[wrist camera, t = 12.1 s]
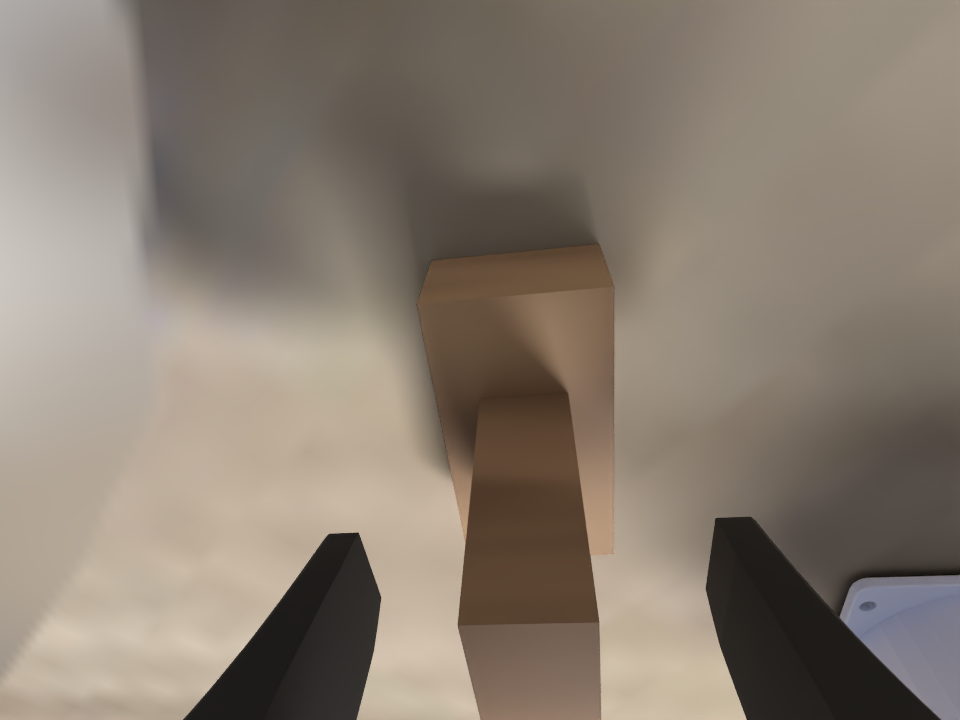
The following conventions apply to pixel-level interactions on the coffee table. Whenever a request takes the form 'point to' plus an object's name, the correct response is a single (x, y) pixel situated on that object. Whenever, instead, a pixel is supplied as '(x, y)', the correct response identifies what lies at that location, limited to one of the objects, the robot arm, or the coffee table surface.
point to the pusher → (527, 467)
